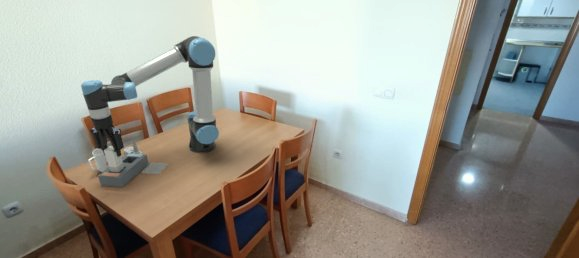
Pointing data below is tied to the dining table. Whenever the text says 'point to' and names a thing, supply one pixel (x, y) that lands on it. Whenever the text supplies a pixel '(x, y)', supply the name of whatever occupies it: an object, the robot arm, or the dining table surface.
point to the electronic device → (132, 149)
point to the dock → (124, 170)
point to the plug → (113, 160)
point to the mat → (154, 168)
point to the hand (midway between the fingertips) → (114, 161)
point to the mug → (99, 160)
